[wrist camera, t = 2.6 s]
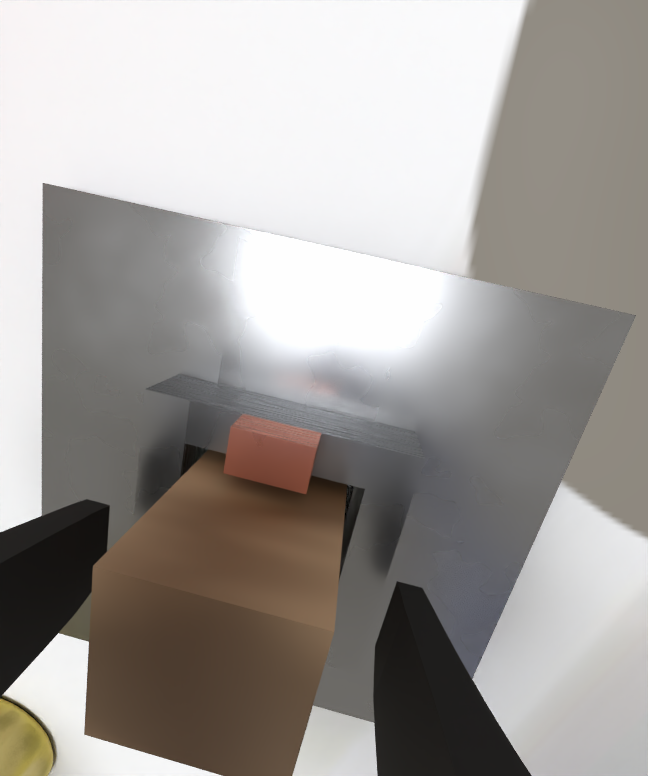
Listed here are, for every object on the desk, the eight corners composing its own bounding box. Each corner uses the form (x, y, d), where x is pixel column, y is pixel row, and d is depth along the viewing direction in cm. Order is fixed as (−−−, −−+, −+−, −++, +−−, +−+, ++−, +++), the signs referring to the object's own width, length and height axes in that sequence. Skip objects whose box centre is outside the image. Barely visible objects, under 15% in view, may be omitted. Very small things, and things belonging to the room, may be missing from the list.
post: (349, 456, 12) (334, 631, 6) (323, 556, 13) (286, 795, 7) (231, 426, 12) (92, 566, 6) (214, 528, 13) (84, 734, 7)
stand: (614, 313, 10) (744, 324, 7) (439, 717, 14) (462, 849, 11) (65, 190, 11) (-72, 143, 7) (58, 610, 15) (-32, 703, 12)
